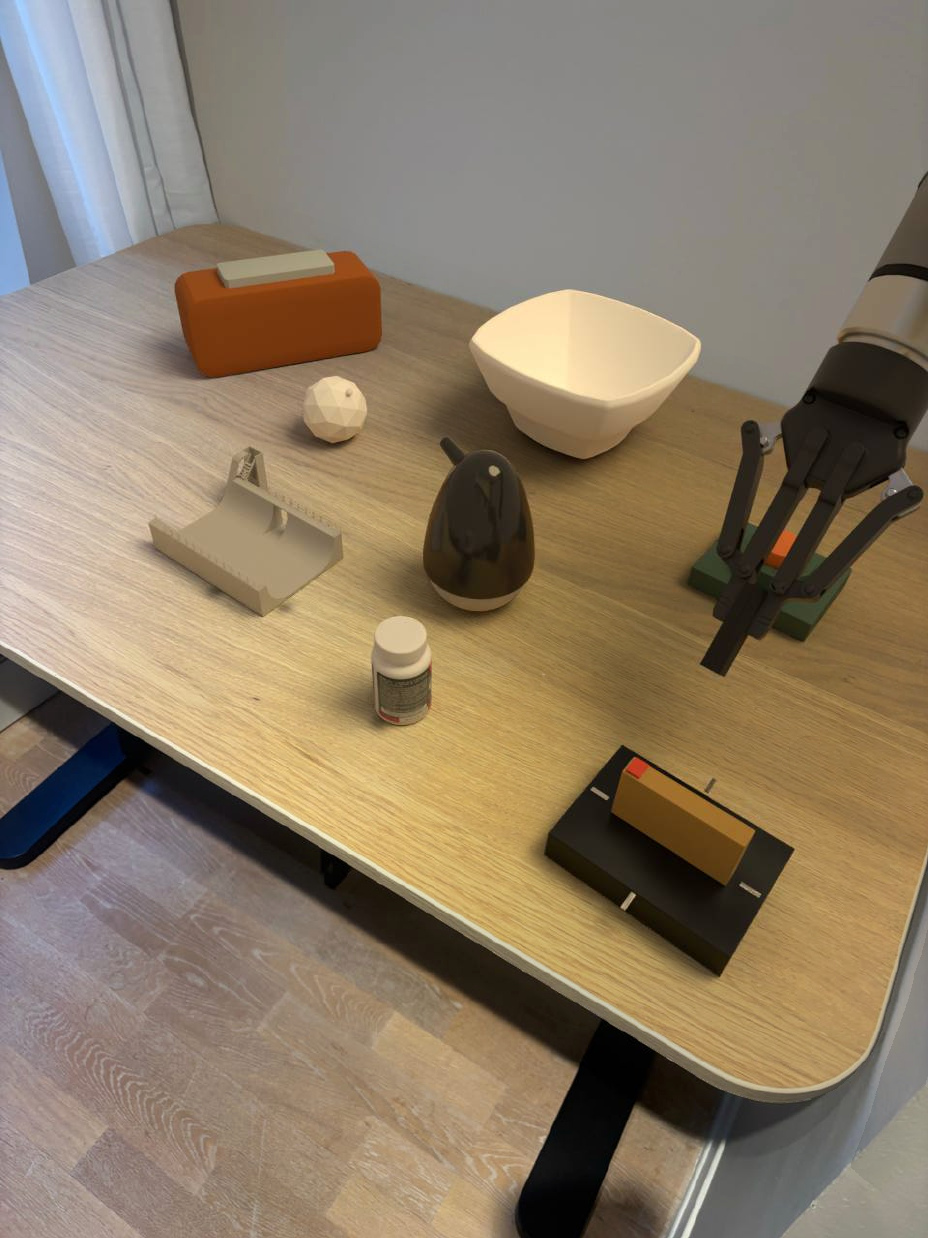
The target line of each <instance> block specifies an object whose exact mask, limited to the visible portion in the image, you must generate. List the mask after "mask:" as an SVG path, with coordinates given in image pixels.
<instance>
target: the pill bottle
mask: <svg viewBox="0 0 928 1238" xmlns="http://www.w3.org/2000/svg"><path fill="white" fill-rule="evenodd" d="M427 635H428V634H427V630H426V628H425V626H424V624H423V623H421V622H420V621H419V620H417V619H416V618H413V617H410V616H405V615H396V616H391V617H388V618H385V619H384V620H383V621H381V622H379V624H378V625H377V626H376V628H375V630H374V635H373V638H374V639H373V640H374V641H373V647H372V650H371V653H370V654H371V655H370V657H371V658H370V660H371V661H370V663H371V674H372V690H373V707H374V709H375V711H376V713H377V715H378V717H380V718H381V719H382V720H384V721H385V722H387V723H389V724H392V725H397V726H407V725H411V724H412V725H413V724H415V723H418V722H419V721H421V720H422V719H424V718H425V717H426V716H427V714H428V713H429V712H430V709H431V707H432V680H433V679H432V676H433V675H432V671H433V670H432V669H433V667H432V666H433V664H432V663H433V656H432V655H433V654H432V649H431V647H430V645H429V643H428V636H427Z"/></svg>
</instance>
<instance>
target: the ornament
mask: <svg viewBox="0 0 928 1238" xmlns="http://www.w3.org/2000/svg"><path fill="white" fill-rule="evenodd" d="M301 408H302V409H301V410H302V417H303V422H304V423H305V425H306V426H307V427H308V429H309V430H310V431H311V433H312V434H313V436H314V437H316V438H319V439H320V440H324V441H326V442H329V443H331V444H335V443H340V442H344V441H347V440H349V439H351V438H352V437H354V436H355V435H356V434H358V433H360V432H361V431H362V430H363V427H364V424H365V421H366V418H367V415H368V406H367V401H366V397H365V396H364V394H363V392H361V390H360V389H359V387H358V386H357V385H356V384H355V382H354V381H350V380H348V379H345V378H344V377H341V376H340V375H333V376H326V377H323V378H321V379H320V380H318V381H316V382H315V383H313V384H312V385H310V386H309V387H308V388H307V389H306V393H305V395H304V400H303V402H302V406H301Z"/></svg>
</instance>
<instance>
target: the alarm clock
mask: <svg viewBox="0 0 928 1238" xmlns="http://www.w3.org/2000/svg"><path fill="white" fill-rule="evenodd" d="M174 296H175V301H176V306H177V310H178V316H179V320H180V325H181V330H182V331H181V332H182V336H183V339H184V341H185V343H186V345H187V348H188V350H189V352H190V354H191V356H192V360H193V361H194V363H195V366H196V368H197V370H198V371H199V372H200V373H201V374H202V375H203V376H206V377H208V378H220V377H221V378H222V377H226V376H232V375H237V374H244V373H249V372H255V371H261V370H267V369H272V368H279V367H284V366H285V367H286V366H291V365H297V364H302V363H307V362H313V361H318V360H319V361H320V360H324V359H330V358H336V357H343V356H347V355H353V354H360V353H365V352H369V351H372V350H374V349H375V348H376V347H378V345H380V343H381V340H382V334H383V332H382V331H383V327H382V323H383V322H382V321H383V320H382V299H381V298H382V291H381V285H380V282H379V280H378V279H377V278H376V276H375V275H374V274H373V273H372V272H371V271H370V269H369V268H368V267H367V266H366V264H364V262H363V261H362V260H361V259H360V257H359V256H358V255H357V254H356V253H354V252H353V251H351V250H340V251H339V250H338V251H332V252H326V251H325V250H324V249H314V250H306V251H298V252H290V253H282V254H276V255H267V256H261V257H253V258H246V259H239V260H231V261H222V262H218V263H216V267H213V268H205V269H198V270H189V271H187V272H183V273H182V274H180V275H179V276H178V277H177V278H176V279H175V282H174Z"/></svg>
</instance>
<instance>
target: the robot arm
mask: <svg viewBox="0 0 928 1238" xmlns="http://www.w3.org/2000/svg"><path fill="white" fill-rule="evenodd" d="M836 341H837V344H834V345H832V346H831V347H830V348H829V349H828V350H827V352H826V354H825V355H824V357H823V358H822V361H821V363H820V364H819V366H818V368H817V370H816V372H815V373H814V376H813V377H812V378H811V381H810V383H809V384H808V386H807V388H806V389H805V391H804V393H803V395H802V396H801V398H800V400H799V401H798V402H797V403H796V404H795V405H793V407H791V408H789V409H788V410H787V411H786V412H785V413H784V414H783V415H782V417H781V419H779V420H775V421H769V422H764V423H758V422H757V421H756V420H754V419H748V420H745V421H744V422H743V423H742V425H741V426H740V437H741V447H742V454H741V459H740V462H739V466H738V469H737V473H736V476H735V480H734V484H733V487H732V490H731V494H730V498H729V501H728V504H727V509H726V513H725V516H724V520H723V523H722V526H721V530H720V534H719V537H718V539H719V540H718V539H717V540H718V544H717V548H716V552H717V554H718V555H719V557H720V558H721V559H722V560H723V562H724V563H725V564H726V565H727V566H728V567H729V568H730V569H731V578H730V580H729V582H728V583H727V585H726V587H725V589H724V591H723V592H722V594H721V596H720V598H719V599H717V601H716V603H715V604H714V606H713V609H712V617H713V618H714V619H716V620H718V621H720V622H721V625H720V627H719V629H718V631H717V632H716V634H715V636H714V637H713V639H712V641H711V643H710V645H709V646H708V648H707V650H706V651H705V653H704V655H703V656H702V659H701V660H700V662H699V665H700V666H701V667H703V668H705V669H707V670H709V671H711V672H713V673H714V674H716V675H718V676H721V677H723V678H725V677H726V675H727V674H728V672H729V670H730V669H731V667H732V665H733V664H734V661H735V660H736V658H737V656H738V654H739V653H740V651H741V649H742V647H743V646H744V644H745V642H746V640H747V638H748V637H751V638H753V639H754V640H757V641H759V642H761V641H762V640H763V639H764V638H766V637H767V635H768V634H769V632H770V630H771V628H772V627H773V626H772V625H773V623H774V621H775V620H776V618H777V616H778V614H779V613H780V611H781V609H782V607H783V606H784V605H785V604H786V603H787V602H789V601H804V602H808V603H815V602H817V601H818V600H819V599H820V598H821V597H822V596H823V595H824V594H825V593H826V592H827V591H828V590H829V589H830V588H831V587H832V586H833V585H834V584H835V583H836V582H837V580H838V579H839V578H840V577H841V576H842V575H843V574H844V573H845V572H846V571H847V570H848V569H849V568H851V567H852V566H854V564H855V563H856V562H857V561H858V560H859V559H860V558H861V557H862V556H863V554H864V553H866V551H868V549H869V548H870V547H871V546H872V545H874V543H875V542H876V541H877V540H878V539H879V538H880V537H881V536H882V535H883V533H884V532H885V531H886V530H887V529H888V528H889V527H890V526H891V525H892V524H894V523H896V522H898V521H900V520H901V519H904V518H906V517H907V516H909V515H911V514H913V513H915V512H917V511H918V510H919V509H921V506H922V504H923V499H924V494H925V493H924V490H923V488H922V487H920V486H919V485H915V484H914V483H913V482H912V480H911V479H910V477H909V476H908V474H907V472H906V471H905V470H904V469H905V466H906V463H907V462H906V461H907V449H908V445H909V443H910V441H911V439H912V438H913V436H914V434H915V433H916V430H917V429H918V428H919V426H920V424H921V422H922V421H923V419H924V417H925V416H926V414H927V411H928V169H927V170H926V171H925V172H924V173H923V175H922V177H921V179H920V181H919V183H918V184H917V189H916V191H915V193H914V196H913V198H912V200H911V202H910V204H909V206H908V208H907V210H906V211H905V213H904V215H903V217H902V219H901V221H900V222H899V224H898V226H897V228H896V229H895V231H894V233H893V235H892V237H891V238H890V241H889V242H888V244H887V246H886V248H885V249H884V252H883V253H882V255H881V257H880V258H879V260H878V262H877V264H876V266H875V268H874V270H873V271H872V273H871V275H870V276H869V279H868V280H867V282H866V283H865V285H864V286H863V288H862V290H861V291H860V293H859V295H858V297H857V299H856V300H855V302H854V304H853V306H852V307H851V309H850V311H849V312H848V314H847V315H846V318H845V320H844V322H843V323H842V325H841V327H840V328H839V330H838V332H837V334H836ZM780 439H782V445H783V452H784V459H785V465H786V469H787V472H786V474H785V475H784V476H783V479H782V482H781V484H780V487H779V488H778V491H777V492H776V494H775V496H774V498H773V499H772V501H771V502H770V505H768V508H767V509H766V511H765V513H764V515H763V517H762V518H761V520H760V522H759V524H758V526H757V529H756V531H755V533H754V535H753V536H752V538H751V540H750V542H749V543H748V545H747V547H746V549H745V550H744V552H743V554H741V553H740V550H741V546H742V543H743V539H744V535H745V532H746V528H747V525H748V522H749V520H750V518H751V514H752V511H753V510H752V509H753V507H754V503H755V499H756V496H757V492H758V489H759V485H760V481H761V478H762V474H763V470H764V465H765V456H769V455H771V454H772V453H773V452H774V451H775V446H776V443H777V442H778V441H780ZM885 482H888V483H887V485H886V487H884V489H882V491H881V493H880V502H879V503H878V504H877V505H876V506H875V507H873V508H872V509H871V511H869V512H868V513H867V515H865V517H864V518H863V519H862V520H861V521H860V522H859V523H858V524H857V525H856V526H855V527H854V528H853V530H851V531H850V533H848V535H847V536H846V537H845V538H844V539H843V540H842V541H841V542H840V543H839V544H838V545H837V546H836V547H835V548H834V549H833V551H832V552H830V554H829V555H828V556H826V557H827V558H826V559H825V560H824V561H823V562H822V563H821V564H820V566H819V567H818V568H817V569H816V570H815V571H814V572H813V573H812V574H811V575H810V576H809V577H808V578H807V579H806V580H805V581H800V580H799V579H800V578H801V576H802V574H803V572H804V571H805V569H806V567H807V565H808V564H809V562H810V560H811V558H812V556H813V555H814V553H816V551H817V550H818V548H819V546H820V544H821V543H822V540H823V539H824V537H825V535H826V534H827V532H828V530H829V528H830V526H831V525H832V524H833V521H834V519H835V518H836V517H837V516H838V514H839V513H840V511H841V509H842V508H843V506H844V504H845V502H846V500H848V499H853V498H855V497H857V496H859V495H860V494H863V493H865V492H866V491H869V490H871V489H873V488H876V487H877V486H879V485H881V484H884V483H885ZM809 489H814V490H815V489H816V490H818V491H820V492H819V494H818V496H817V499H816V501H815V504H814V505H813V507H812V509H811V511H810V512H809V513H808V516H807V517H806V520H805V521H804V523H803V525H802V527H801V529H800V530H799V532H798V533H797V534H796V536H797V537H796V539H795V541H794V543H793V544H792V546H791V548H790V550H789V551H788V553H787V555H786V557H785V558H784V560H783V562H782V564H781V566H780V567H779V569H778V571H777V573H776V574H775V576H774V578H773V580H772V581H771V580H770V582H769V587H770V588H769V589H768V591H766V590H764V589H762V588H760V587H758V586H756V585H754V583H755V582H756V581H757V579H756V578H757V576H758V574H759V573H760V571H761V569H762V567H763V566H764V564H765V562H766V560H767V559H768V557H769V555H770V553H771V552H772V550H773V548H774V546H775V545H776V543H777V541H778V539H779V537H780V536H781V534H782V532H783V530H785V529H786V527H787V526H788V523H789V522H790V520H791V518H792V516H793V515H794V513H795V512H796V509H798V508H797V507H798V506H799V504H800V503H801V501H802V500H804V498H805V497H806V495H807V492H808V491H809Z"/></svg>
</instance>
